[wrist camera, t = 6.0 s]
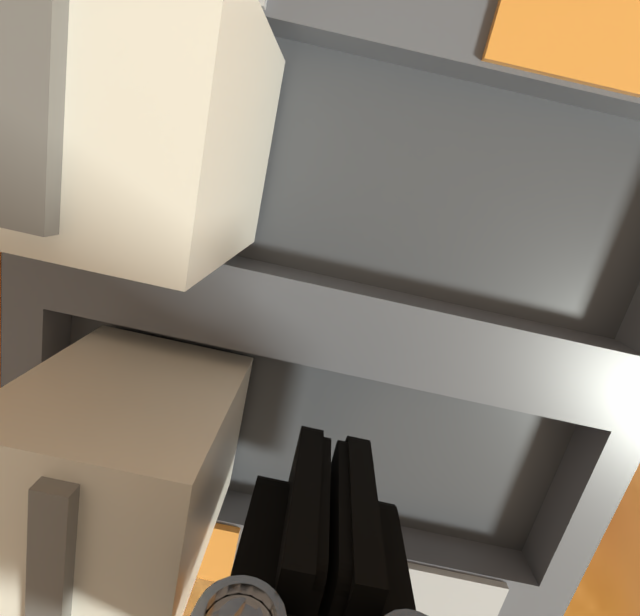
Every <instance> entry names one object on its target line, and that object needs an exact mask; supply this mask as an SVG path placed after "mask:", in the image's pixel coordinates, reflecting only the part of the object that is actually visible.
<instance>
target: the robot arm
mask: <svg viewBox="0 0 640 616" xmlns="http://www.w3.org/2000/svg"><path fill="white" fill-rule="evenodd" d="M190 616H427V615H425V614H423V613H421V612H419V611H416V606H415V601H414V595H413V590H412V585H411V579H410V574H409V568H408V563H407V557H406V552H405V546H404V541H403V536H402V530H401V525H400V519H399V514H398V510H397V507H396V505H395V504H390V503H386V502H381V501H378V495H377V487H376V479H375V471H374V464H373V456H372V448H371V442H370V440H366V439H362V438H357V437H352V436H347V437H346V440H345V441H342V440H337V443H336V446H335V450H334V454H333V457H332V461H331V438H328V437H324V430H320V429H315V428H311V427H306V426H301V430H300V434H299V438H298V442H297V446H296V451H295V455H294V459H293V463H292V467H291V472H290V476H289V480H288V482H287V481H283V480H278V479H273V478H268V477H264V476H259V475H258V476H257V479H256V483H255V487H254V490H253V494H252V498H251V501H250V505H249V509H248V512H247V516H246V520H245V523H244V527H243V531H242V534H241V538H240V542H239V545H238V549H237V553H236V556H235V560H234V564H233V567H232V571H231V575H230V576H229V577H226V578H223V579H221V580H218V581H216V582H215V583H214V584H212V585H211V586H210V587H208V588H207V589H206V590H205V591H204V593H203V594H202V596H201V597H200V598H199V600H198V601H197V603H196V605H195V607H194V609H193V611H192V613H191V615H190Z"/></svg>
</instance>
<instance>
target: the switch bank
mask: <svg viewBox="0 0 640 616" xmlns="http://www.w3.org/2000/svg"><path fill="white" fill-rule="evenodd" d="M259 2H260V5H261V7H262V9H263V11H264V14H265V16H266V18H267V21H268V23H269V25H270V27H271V30H272V32H273V34H274V37H275V39H276V41H277V43H278V46H279V48H280V50H281V53H282V55H283V57H284V59H285V66H284V72H283V78H282V84H281V89H280V95H279V101H278V107H277V113H276V118H275V124H274V130H273V136H272V142H271V147H270V153H269V159H268V165H267V170H266V176H265V182H264V188H263V194H262V199H261V205H260V211H259V217H258V223H257V228H256V234H255V240H254V242H253V243H252V244H250V245H249V246H248V247H246V248H245V249H244V250H242V251H241V252H239V253H238V254H237V255H235V256H234V257H232V258H231V259H230V260H228V261H227V262H226V263H224V264H223V265H221V266H220V267H219V268H217V269H216V270H214V271H213V272H212V273H210V274H209V275H208V276H206V277H205V278H203V279H202V280H201V281H199V282H198V283H196V284H195V285H194V286H192V287H191V288H190V289H188V290H187V291H185V292H183V291H178V290H174V289H169V288H164V287H160V286H155V285H151V284H146V283H142V282H137V281H132V280H128V279H123V278H119V277H114V276H109V275H105V274H100V273H96V272H91V271H87V270H82V269H77V268H73V267H68V266H64V265H59V264H54V263H50V262H45V261H41V260H36V259H32V258H27V257H22V256H18V255H13V254H9V253H4V252H2V256H1V387H3V386H4V385H6V384H8V383H9V382H11V381H13V380H14V379H16V378H18V377H19V376H21V375H22V374H24V373H26V372H27V371H29V370H31V369H32V368H34V367H36V366H37V365H39V364H40V363H42V362H44V361H45V360H47V359H49V358H50V357H52V356H53V355H55V354H57V353H58V352H60V351H62V350H63V349H65V348H67V347H68V346H70V345H71V344H73V343H75V342H76V341H78V340H80V339H81V338H83V337H85V336H86V335H88V334H89V333H91V332H93V331H94V330H96V329H98V328H99V327H101V326H102V325H104V326H108V327H113V328H118V329H122V330H127V331H132V332H136V333H141V334H145V335H150V336H155V337H159V338H164V339H169V340H173V341H178V342H183V343H187V344H192V345H196V346H201V347H206V348H210V349H215V350H220V351H224V352H229V353H234V354H238V355H243V356H247V357H252V358H253V362H252V368H251V373H250V378H249V384H248V389H247V394H246V400H245V405H244V410H243V416H242V421H241V427H240V432H239V437H238V443H237V448H236V453H235V459H234V464H233V470H232V475H231V480H230V484H229V487H228V490H227V493H226V496H225V498H224V501H223V504H222V507H221V510H220V512H219V515H218V518H217V521H216V524H215V526H214V529H213V532H212V535H211V538H210V540H209V543H208V546H207V549H206V552H205V554H204V557H203V560H202V563H201V566H200V568H199V571H198V574H197V577H196V578H200V579H205V580H210V581H214V582H216V581H218V580H221V579H223V578H226V577H229V576H230V575H231V571H232V567H233V564H234V560H235V556H236V553H237V549H238V545H239V542H240V538H241V534H242V531H243V527H244V523H245V520H246V516H247V512H248V509H249V505H250V501H251V498H252V494H253V490H254V487H255V483H256V479H257V476H258V475H259V476H264V477H268V478H273V479H278V480H283V481H287V482H288V480H289V476H290V472H291V467H292V463H293V459H294V455H295V451H296V446H297V442H298V438H299V434H300V430H301V426H306V427H311V428H315V429H320V430H324V437H328V438H331V461H332V457H333V454H334V450H335V446H336V443H337V440H342V441H345V440H346V437H347V436H352V437H357V438H362V439H366V440H370V442H371V448H372V456H373V464H374V471H375V479H376V487H377V495H378V501H381V502H386V503H390V504H395V505H396V507H397V510H398V514H399V519H400V525H401V530H402V536H403V541H404V546H405V552H406V557H407V563H408V568H409V574H410V579H411V585H412V590H413V595H414V601H415V606H416V611H419V612H421V613H423V614H425V615H427V616H563V615H564V613H565V611H566V609H567V607H568V605H569V603H570V601H571V599H572V597H573V595H574V593H575V591H576V589H577V587H578V585H579V583H580V581H581V579H582V577H583V575H584V573H585V571H586V569H587V567H588V565H589V563H590V561H591V559H592V557H593V555H594V553H595V551H596V549H597V547H598V545H599V543H600V541H601V539H602V537H603V535H604V533H605V531H606V529H607V527H608V525H609V523H610V521H611V519H612V517H613V515H614V513H615V511H616V509H617V507H618V505H619V503H620V501H621V499H622V497H623V495H624V493H625V491H626V489H627V487H628V485H629V483H630V481H631V479H632V477H633V475H634V473H635V471H636V469H637V467H638V465H639V463H640V0H259Z"/></svg>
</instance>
